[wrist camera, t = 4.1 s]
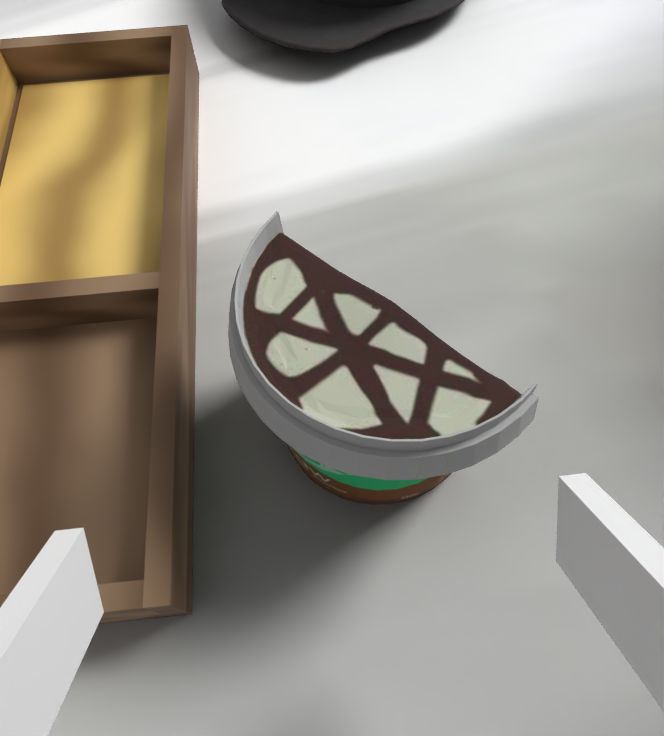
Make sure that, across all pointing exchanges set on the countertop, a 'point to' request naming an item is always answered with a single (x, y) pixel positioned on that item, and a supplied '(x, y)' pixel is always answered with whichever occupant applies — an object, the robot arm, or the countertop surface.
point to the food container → (359, 379)
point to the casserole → (330, 20)
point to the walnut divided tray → (100, 308)
